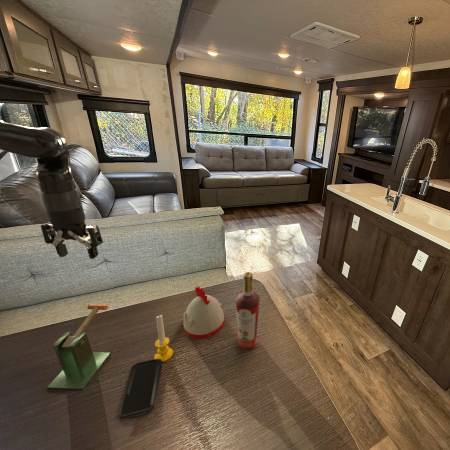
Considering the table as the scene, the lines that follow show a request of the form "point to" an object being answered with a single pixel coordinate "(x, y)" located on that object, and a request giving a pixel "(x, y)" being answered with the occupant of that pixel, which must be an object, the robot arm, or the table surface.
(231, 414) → the table surface
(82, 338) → the bracket
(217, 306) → the kitchen timer
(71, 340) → the lever
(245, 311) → the liquor
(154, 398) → the phone
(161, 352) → the candle
